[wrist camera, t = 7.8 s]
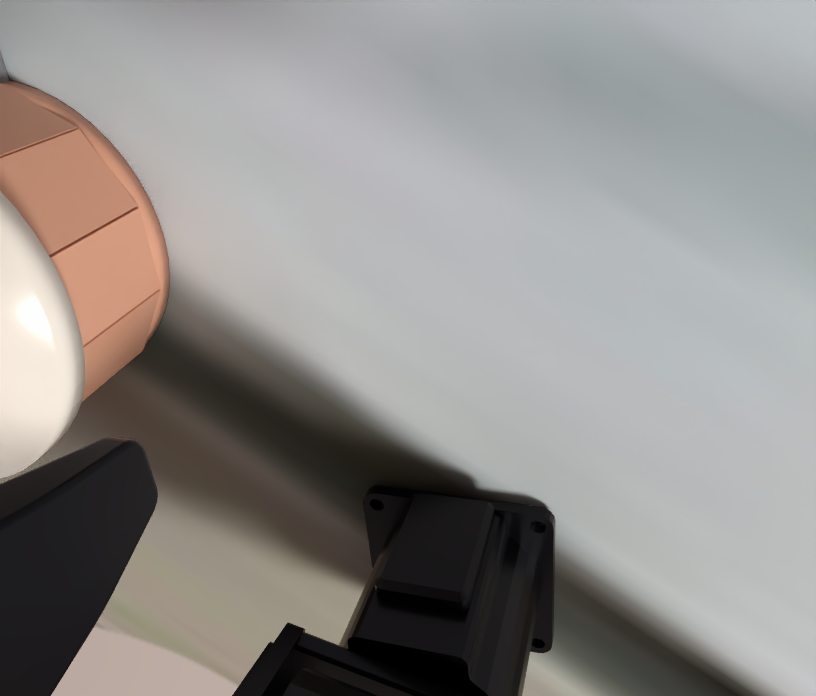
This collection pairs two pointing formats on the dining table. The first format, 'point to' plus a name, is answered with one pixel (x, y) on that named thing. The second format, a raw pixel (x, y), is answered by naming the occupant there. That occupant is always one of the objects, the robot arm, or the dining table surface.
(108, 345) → the bowl
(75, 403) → the lid
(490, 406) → the dining table surface
